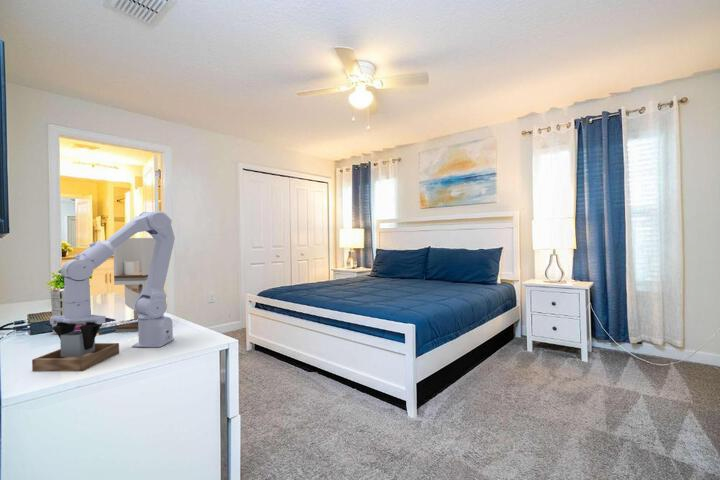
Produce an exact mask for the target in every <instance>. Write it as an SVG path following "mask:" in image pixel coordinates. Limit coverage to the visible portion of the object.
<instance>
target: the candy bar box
mask: <svg viewBox="0 0 720 480" xmlns="http://www.w3.org/2000/svg"><path fill="white" fill-rule="evenodd" d="M50 301H51V305H50V307H51V317H54V316H65V308H64V287H63V288H60V289H54V290H53V289H52V290H51V289H50ZM90 314H91V315H92V310H91V305H90ZM56 325H57V323H55V324H51V326H52V328H51V329H52V335H57V333H56V332H55V331H54V330H53V327H54V326H56ZM83 325H86V323H76V325H75V329H74V331H75V330H81V329H80V326H83ZM57 336H58V335H57Z"/></svg>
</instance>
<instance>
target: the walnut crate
mask: <svg viewBox="0 0 720 480" xmlns="http://www.w3.org/2000/svg"><path fill="white" fill-rule="evenodd" d="M118 354H120V343H118V342H110V343H109V342H106V343H104V342H99V343H97V342H95V351H92V352H90V353H88V354H86V355H83V356H81V357H61V348H58V349H57V350H53V351H51V352H48V353H46V354H44V355H41V356H38V357H36V358H33V359H32V360H31V361H32V362H31V367H32V370H31V371H32V372H84V371H86V370H88V369H90V368H92V367H94V366H96V365H99V364H100V363H102V362H105V361H106V360H109V359H111V358H112V357H115V356H117V355H118Z"/></svg>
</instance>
